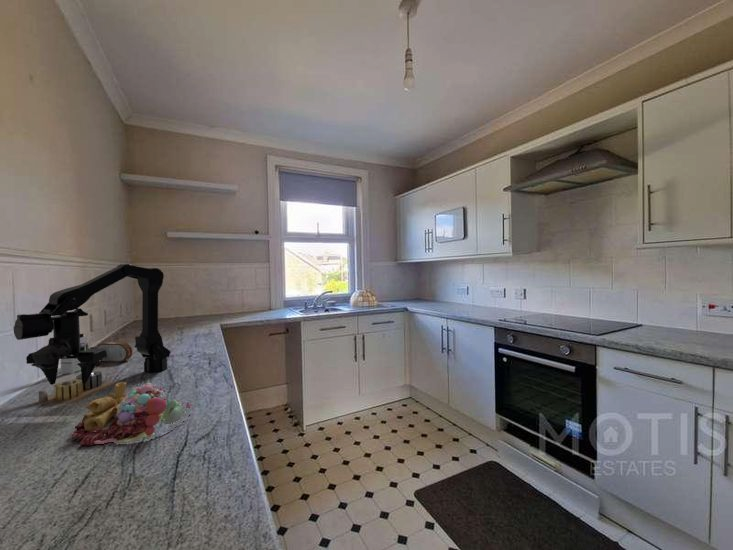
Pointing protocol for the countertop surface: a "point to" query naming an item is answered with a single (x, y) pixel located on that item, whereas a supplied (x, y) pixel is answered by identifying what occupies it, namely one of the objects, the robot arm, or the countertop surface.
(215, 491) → the countertop surface
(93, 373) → the gear
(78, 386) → the brass gear
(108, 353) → the tin
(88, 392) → the board
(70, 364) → the syrup box
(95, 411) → the candy landscape model
